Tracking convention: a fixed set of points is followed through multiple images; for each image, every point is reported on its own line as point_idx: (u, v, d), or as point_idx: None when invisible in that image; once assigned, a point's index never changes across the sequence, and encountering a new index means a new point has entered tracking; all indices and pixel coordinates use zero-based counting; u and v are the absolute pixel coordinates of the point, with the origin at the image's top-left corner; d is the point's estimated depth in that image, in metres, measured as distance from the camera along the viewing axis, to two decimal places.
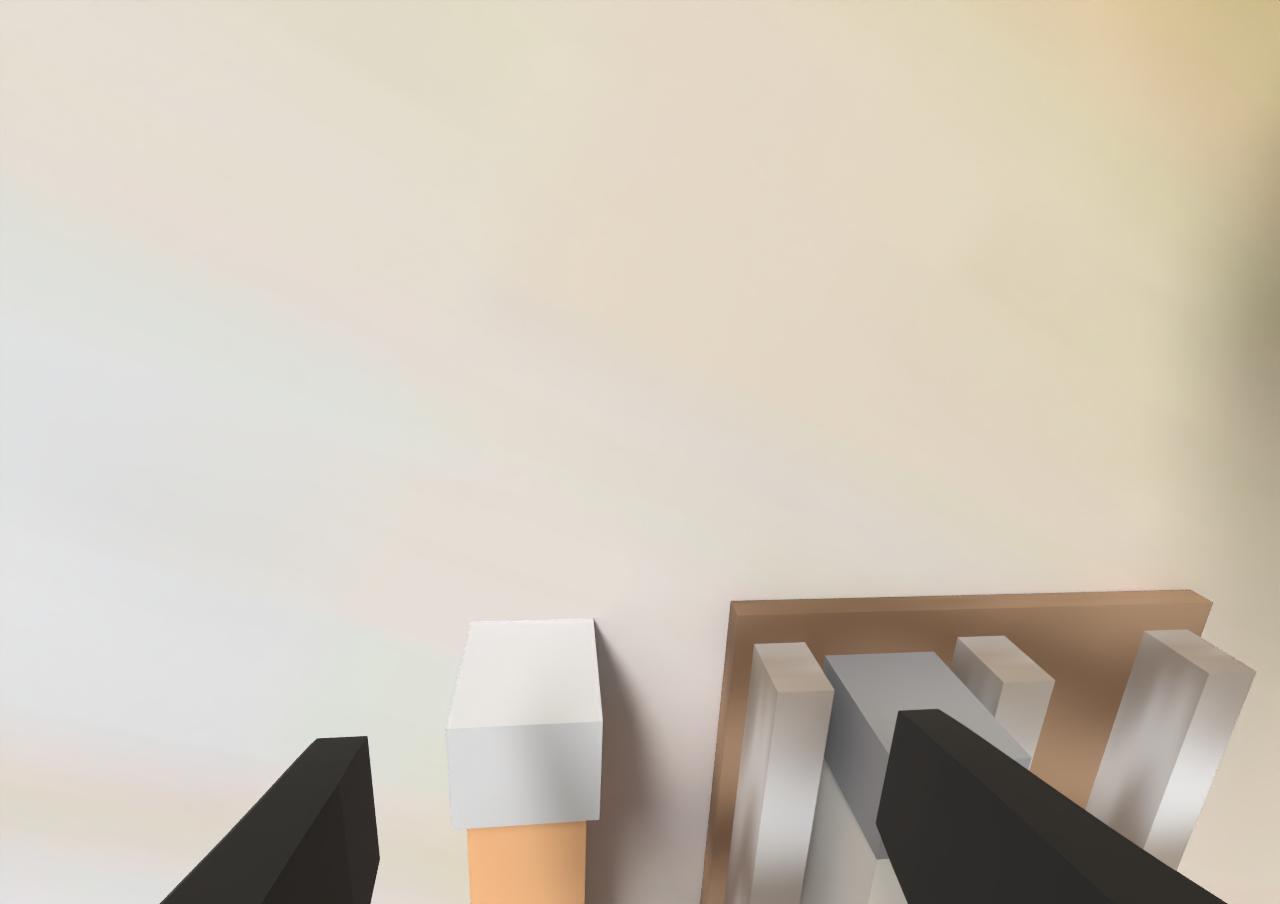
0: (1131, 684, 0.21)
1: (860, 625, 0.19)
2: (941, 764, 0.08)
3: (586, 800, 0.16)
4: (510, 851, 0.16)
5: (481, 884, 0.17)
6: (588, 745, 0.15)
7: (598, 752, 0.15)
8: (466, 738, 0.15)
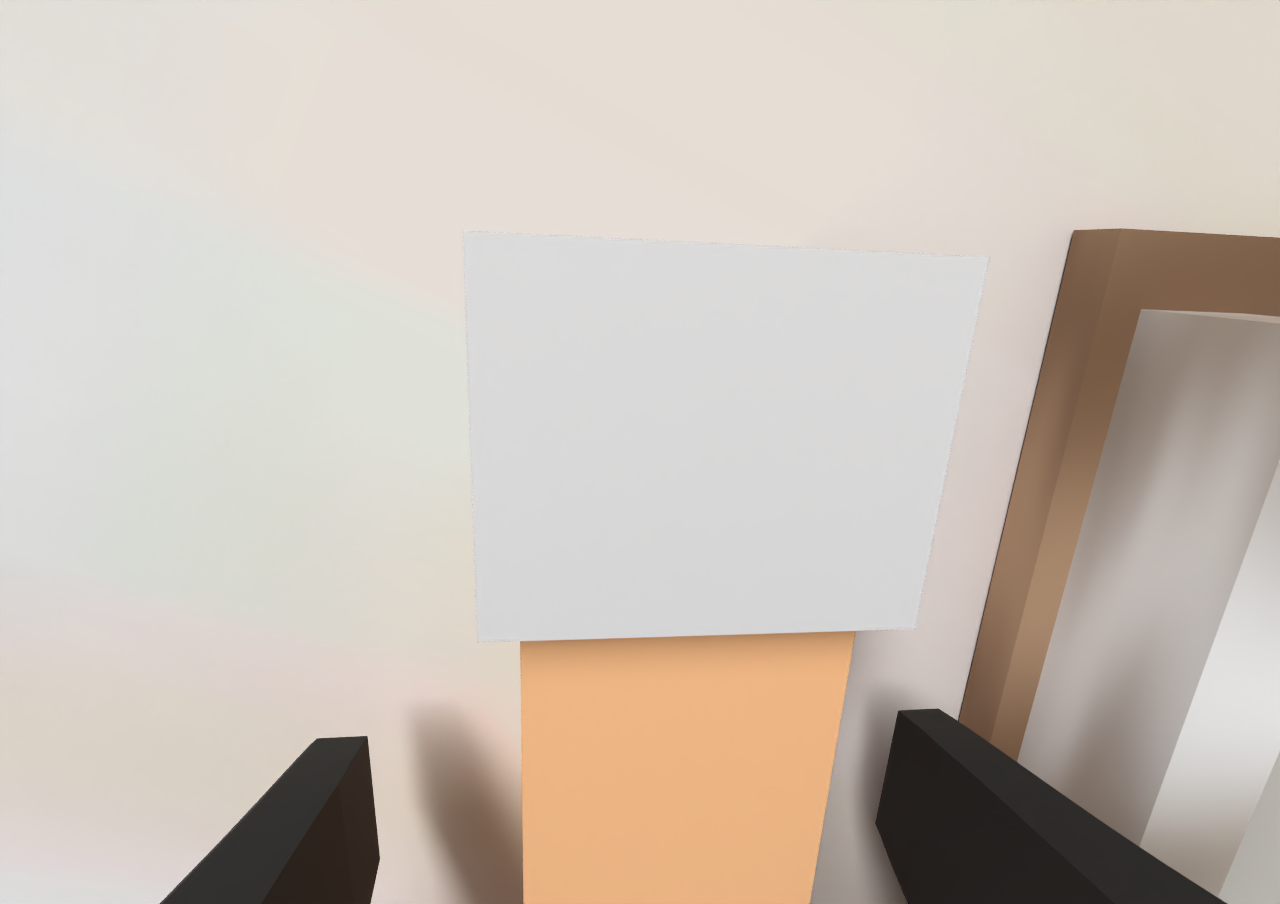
0: None
1: None
2: (941, 764, 0.08)
3: (889, 560, 0.05)
4: (638, 735, 0.06)
5: (552, 829, 0.06)
6: (927, 351, 0.05)
7: (953, 384, 0.05)
8: (534, 281, 0.04)
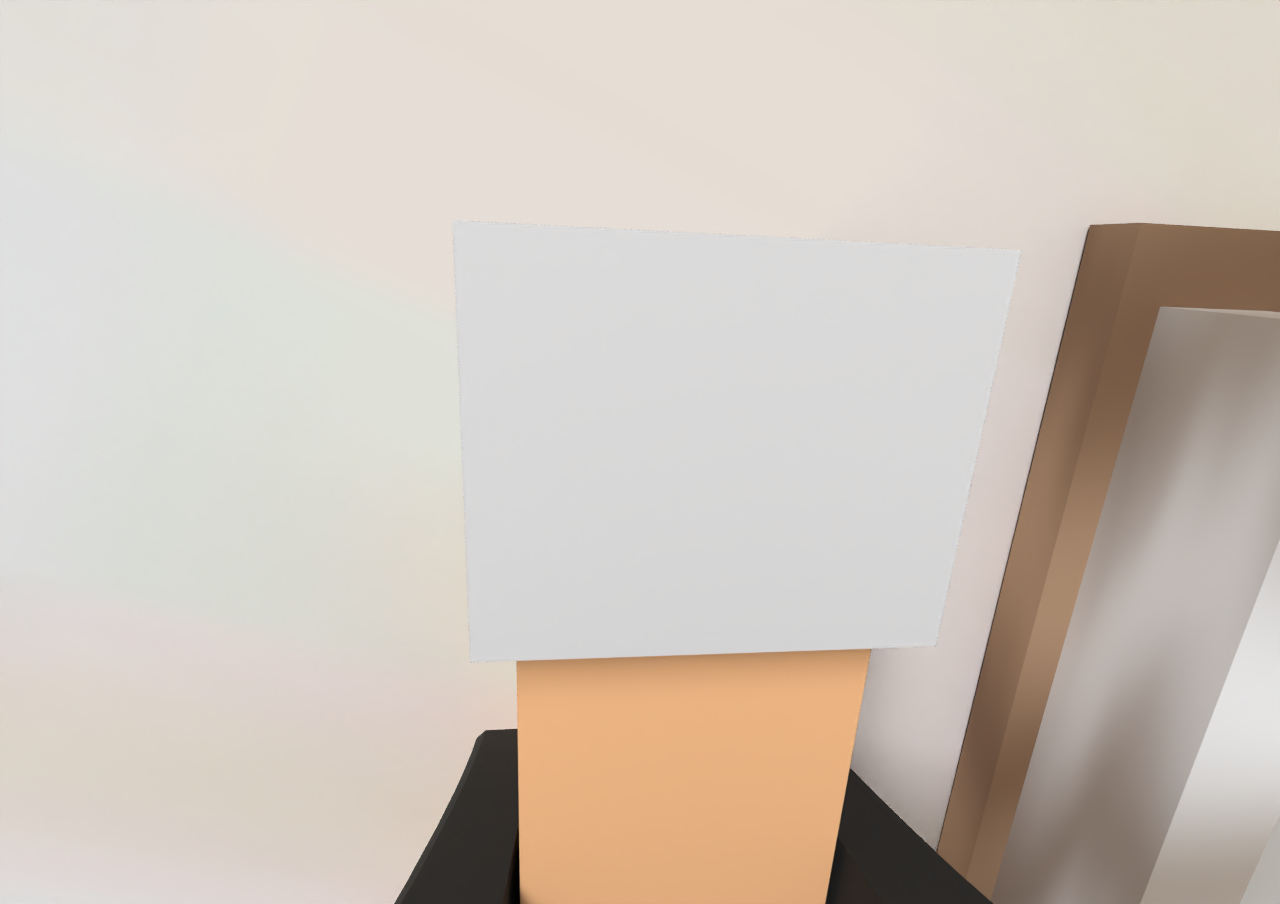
0: None
1: None
2: None
3: (909, 574, 0.05)
4: (642, 757, 0.06)
5: (552, 855, 0.06)
6: (955, 351, 0.04)
7: (980, 387, 0.04)
8: (530, 277, 0.04)
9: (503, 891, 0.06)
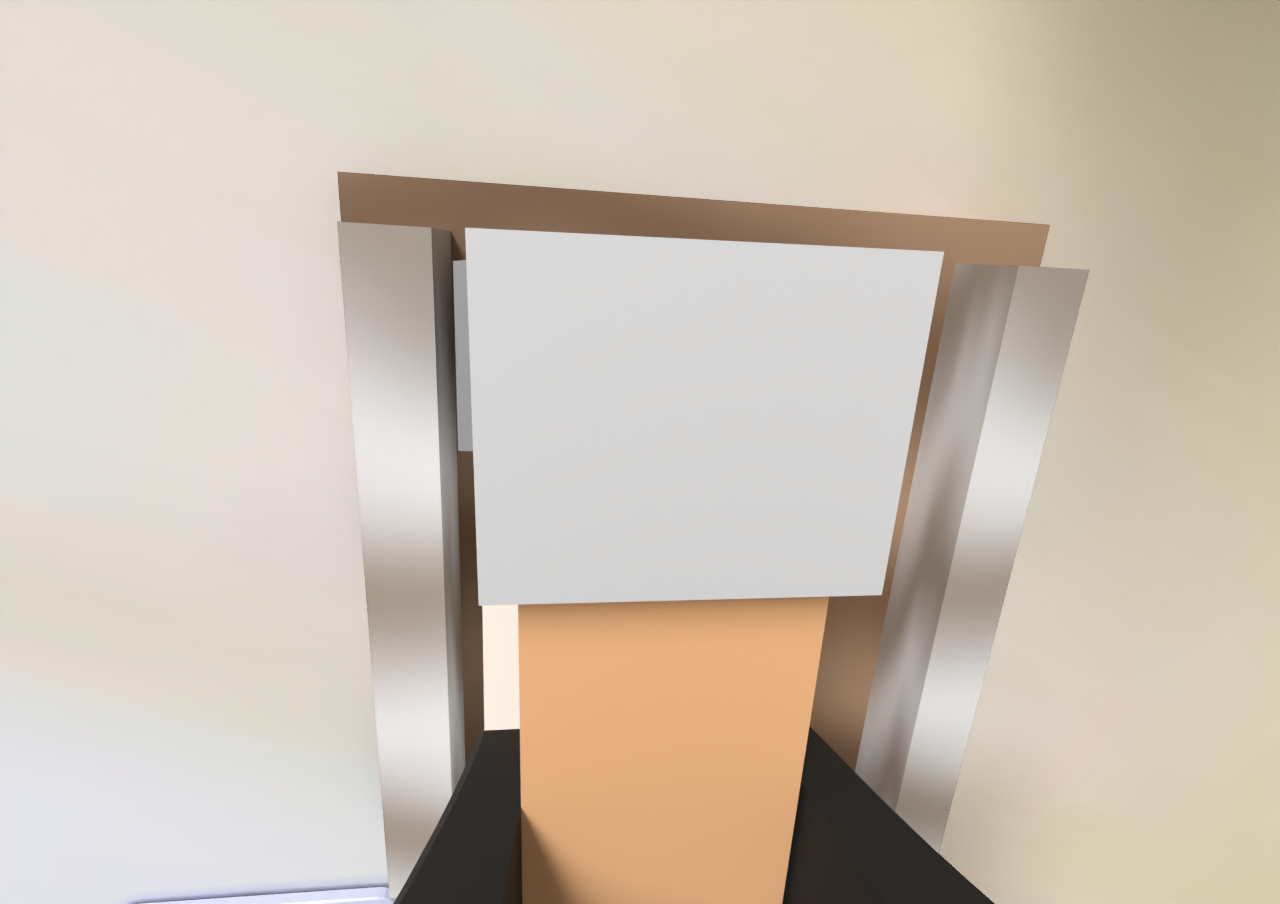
0: (942, 347, 0.16)
1: (531, 209, 0.14)
2: None
3: (857, 531, 0.06)
4: (628, 696, 0.06)
5: (550, 784, 0.07)
6: (889, 337, 0.05)
7: (913, 368, 0.05)
8: (530, 274, 0.05)
9: (502, 891, 0.06)
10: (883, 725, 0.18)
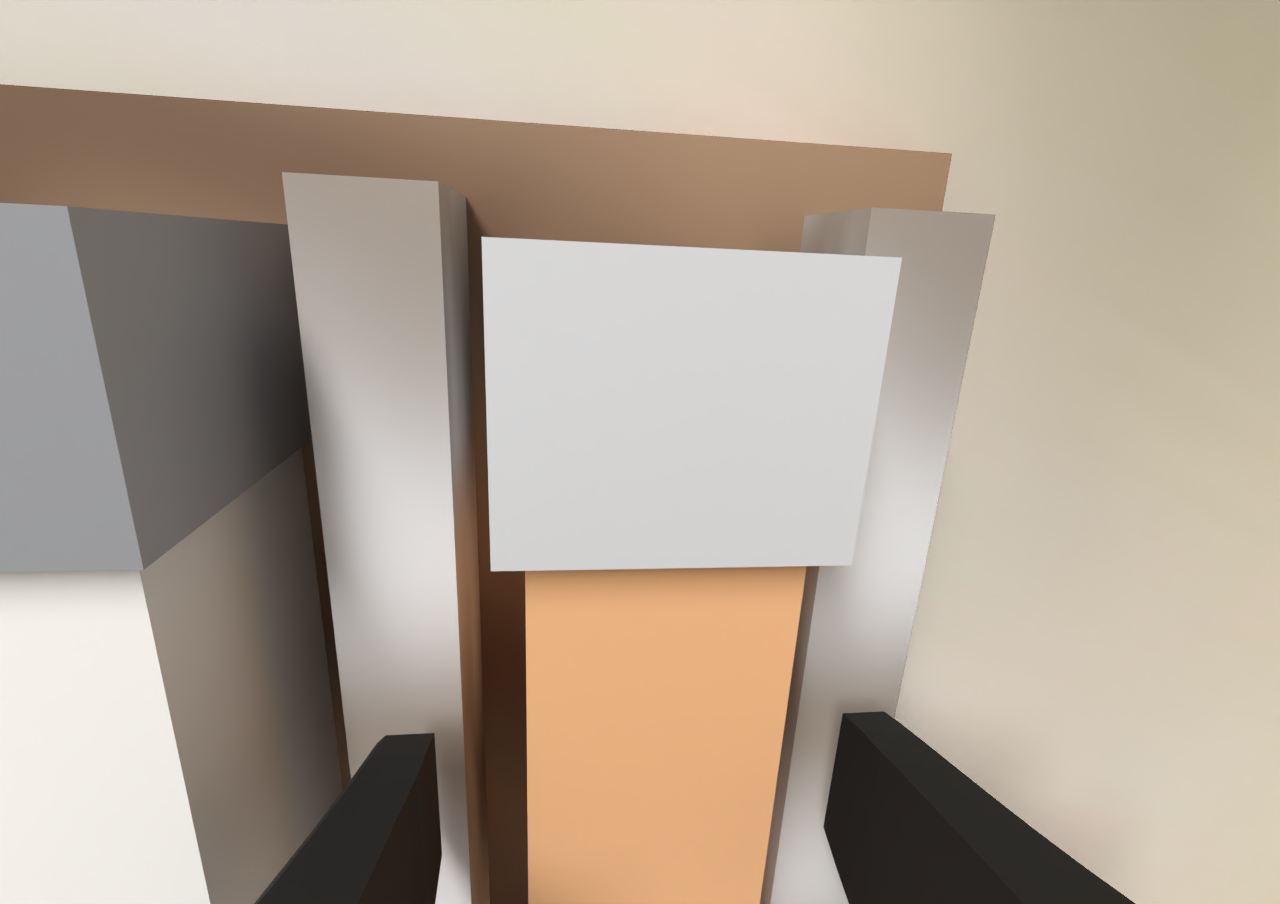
0: None
1: (74, 130, 0.08)
2: (880, 767, 0.08)
3: (828, 507, 0.06)
4: (624, 657, 0.07)
5: (552, 739, 0.07)
6: (854, 334, 0.06)
7: (876, 361, 0.06)
8: (538, 276, 0.05)
9: (355, 903, 0.05)
10: None
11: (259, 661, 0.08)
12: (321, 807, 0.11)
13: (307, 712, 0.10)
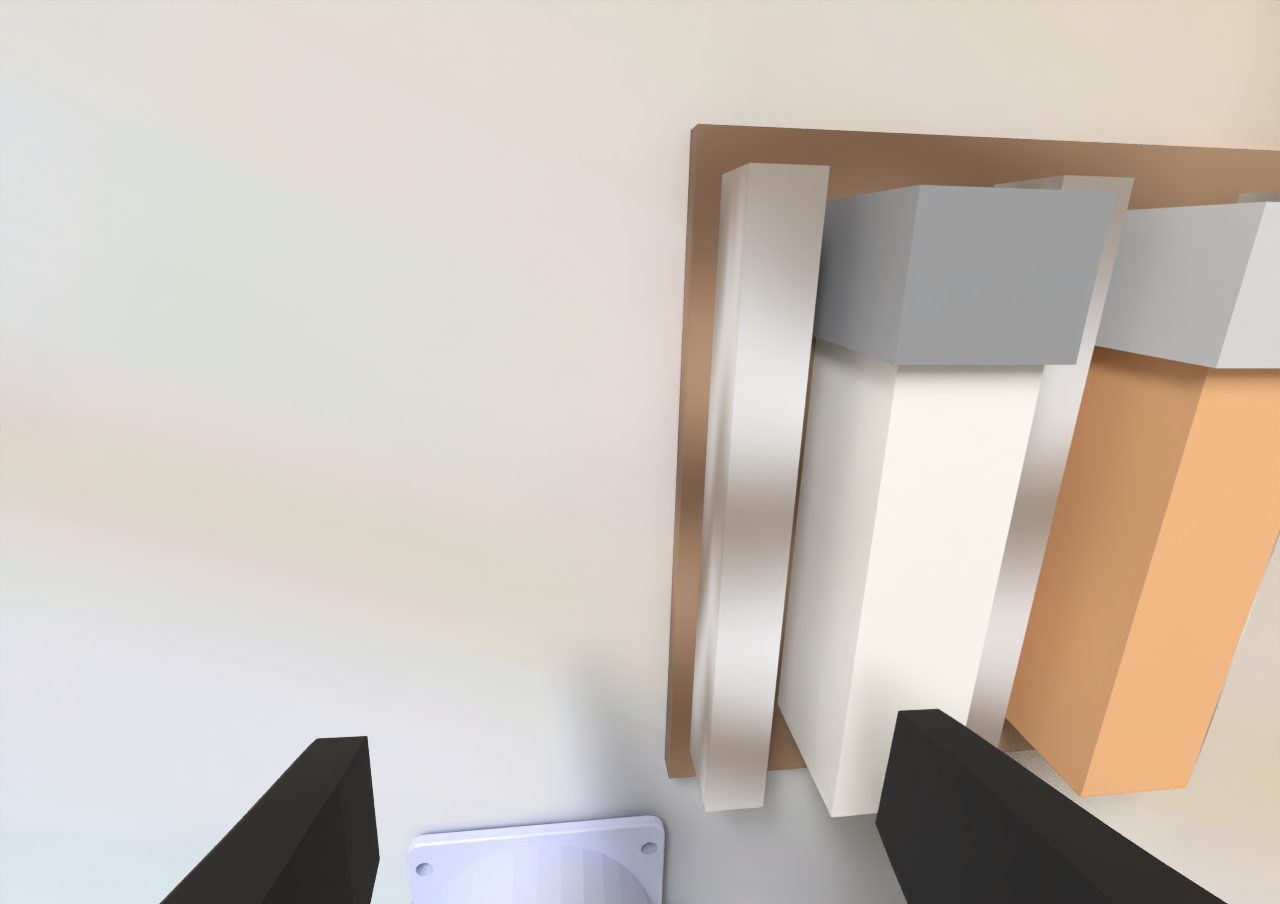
0: None
1: (864, 154, 0.14)
2: (941, 764, 0.08)
3: None
4: (1236, 426, 0.13)
5: (1188, 475, 0.13)
6: None
7: None
8: None
9: None
10: None
11: None
12: None
13: None
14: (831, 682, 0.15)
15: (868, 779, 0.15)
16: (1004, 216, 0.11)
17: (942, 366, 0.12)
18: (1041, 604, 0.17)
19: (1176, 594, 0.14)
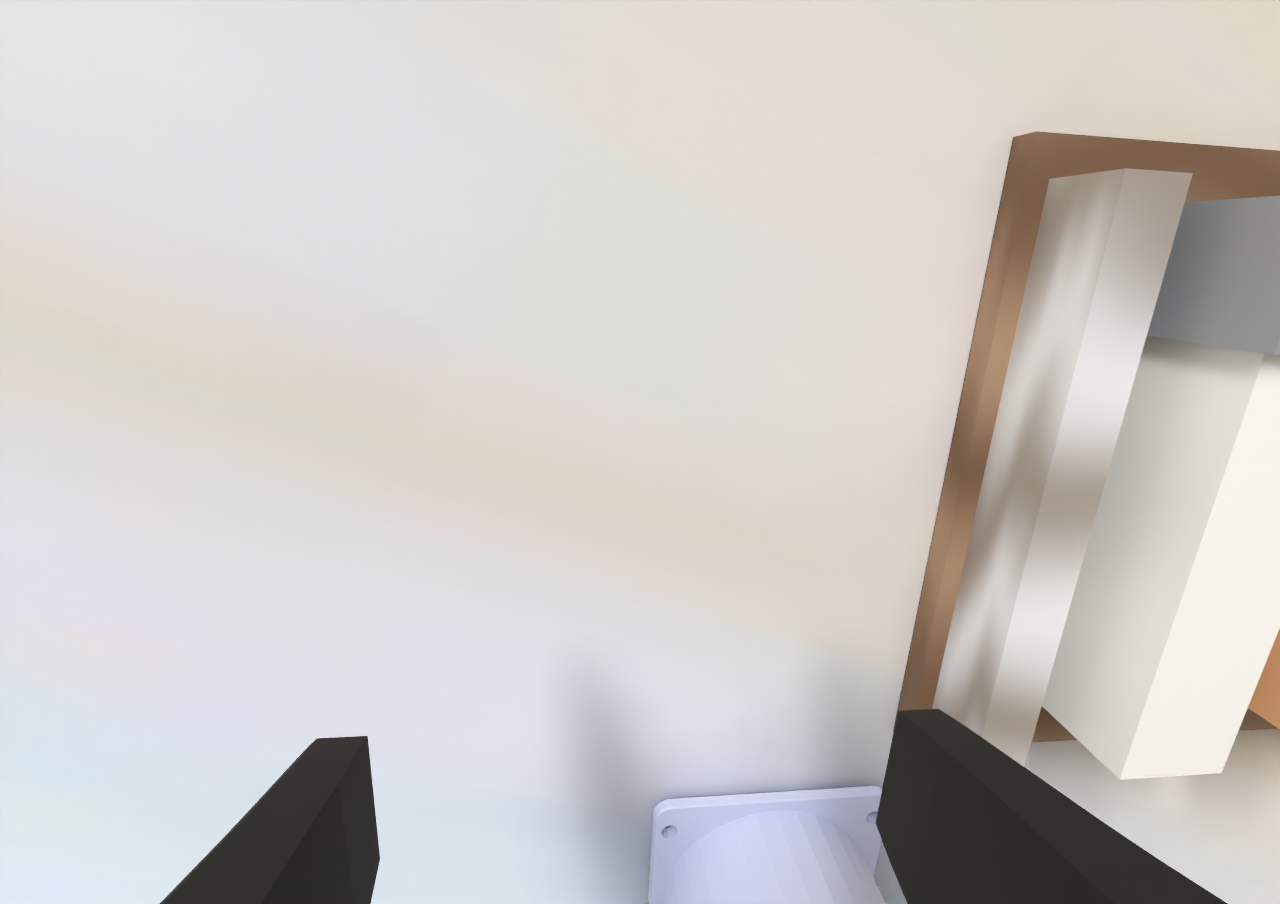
0: None
1: (1175, 164, 0.16)
2: (942, 764, 0.08)
3: None
4: None
5: None
6: None
7: None
8: None
9: None
10: None
11: None
12: None
13: None
14: (1123, 652, 0.16)
15: (1159, 744, 0.16)
16: None
17: None
18: None
19: None
